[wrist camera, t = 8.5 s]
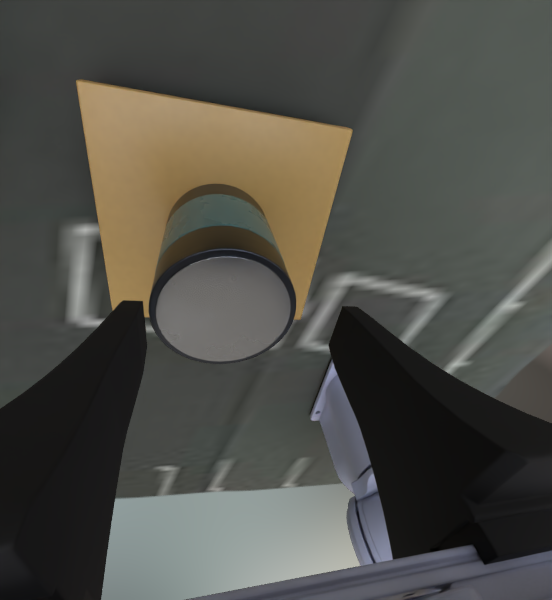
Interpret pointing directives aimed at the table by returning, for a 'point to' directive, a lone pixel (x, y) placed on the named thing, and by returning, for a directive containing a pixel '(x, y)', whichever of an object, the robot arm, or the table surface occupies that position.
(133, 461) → the table surface
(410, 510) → the robot arm
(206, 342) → the can
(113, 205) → the platform
